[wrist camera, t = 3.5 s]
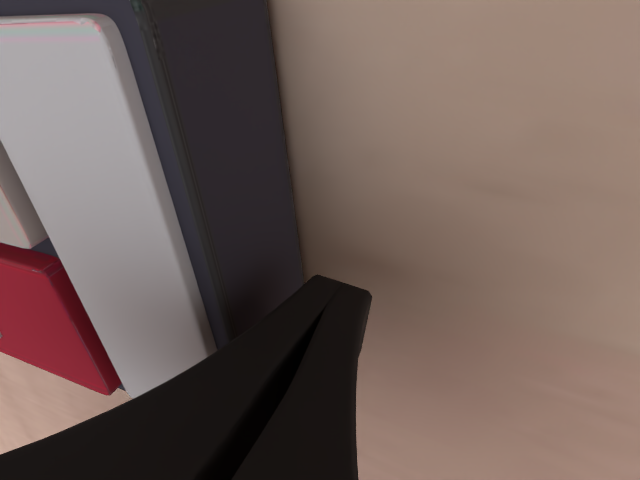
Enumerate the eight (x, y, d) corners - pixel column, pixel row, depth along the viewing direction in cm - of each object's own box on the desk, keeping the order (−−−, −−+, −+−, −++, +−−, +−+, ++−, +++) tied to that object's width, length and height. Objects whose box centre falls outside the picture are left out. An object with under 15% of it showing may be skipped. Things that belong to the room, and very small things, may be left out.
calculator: (-342, 12, 11) (83, -22, 5) (-141, -11, 14) (264, -47, 9) (-86, 329, 17) (244, 473, 12) (16, 264, 21) (315, 352, 15)
